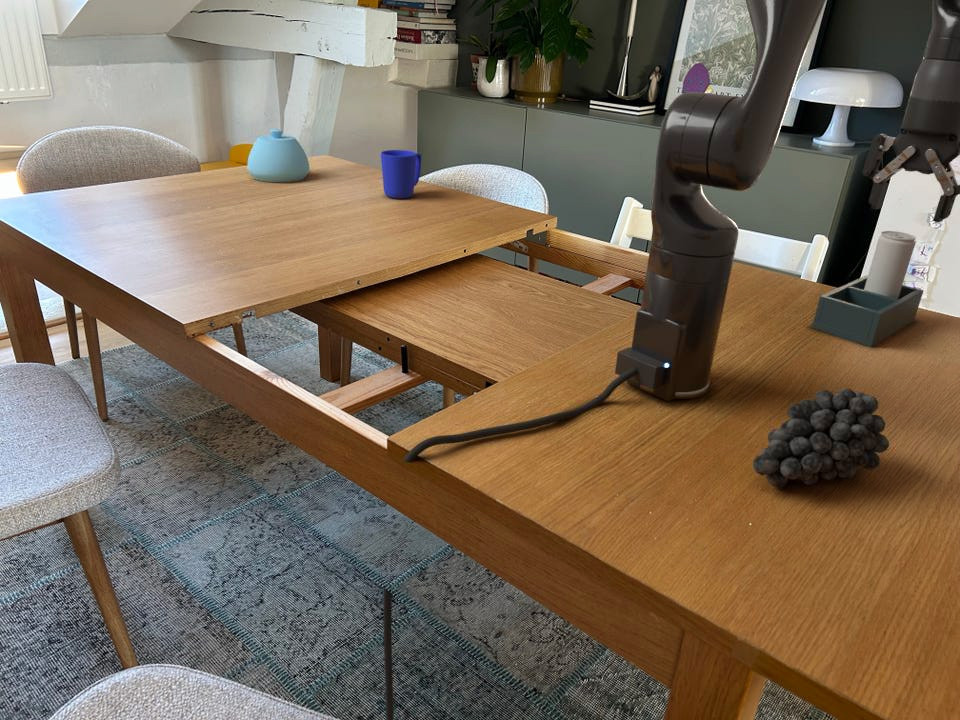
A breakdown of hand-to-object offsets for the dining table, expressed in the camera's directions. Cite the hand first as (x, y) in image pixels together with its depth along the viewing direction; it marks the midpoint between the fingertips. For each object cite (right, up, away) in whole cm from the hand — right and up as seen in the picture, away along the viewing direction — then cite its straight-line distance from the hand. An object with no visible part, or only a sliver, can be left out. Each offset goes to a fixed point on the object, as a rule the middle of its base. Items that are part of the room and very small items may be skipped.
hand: (906, 214), depth 106 cm
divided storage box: (-4, -16, +5) cm, 17 cm away
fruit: (-30, -32, -33) cm, 55 cm away
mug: (-80, +18, +68) cm, 106 cm away
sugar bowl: (-112, +25, +79) cm, 140 cm away
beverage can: (-1, -14, +7) cm, 15 cm away
